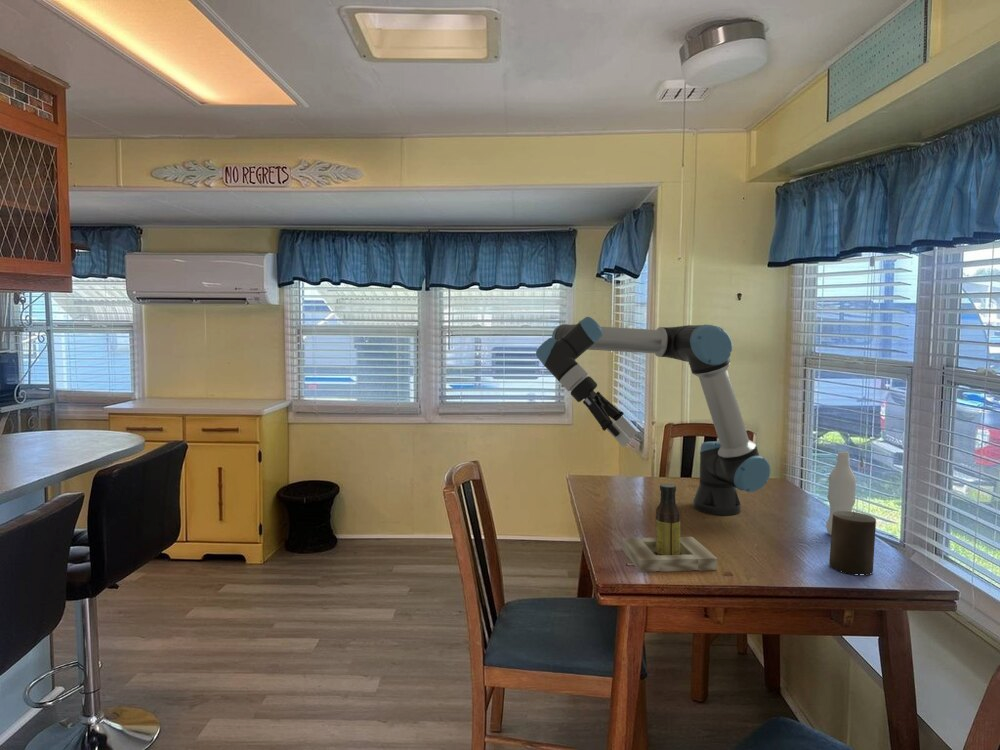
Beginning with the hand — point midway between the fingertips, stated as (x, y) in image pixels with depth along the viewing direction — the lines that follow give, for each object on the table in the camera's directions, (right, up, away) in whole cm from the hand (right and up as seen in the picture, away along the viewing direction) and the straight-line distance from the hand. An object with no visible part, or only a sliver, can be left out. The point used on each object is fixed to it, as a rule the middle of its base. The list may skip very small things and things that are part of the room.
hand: (631, 439), depth 169 cm
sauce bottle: (+8, -31, -9) cm, 33 cm away
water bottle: (+64, -30, +11) cm, 71 cm away
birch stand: (+8, -30, -9) cm, 33 cm away
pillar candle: (+53, -32, -14) cm, 63 cm away
